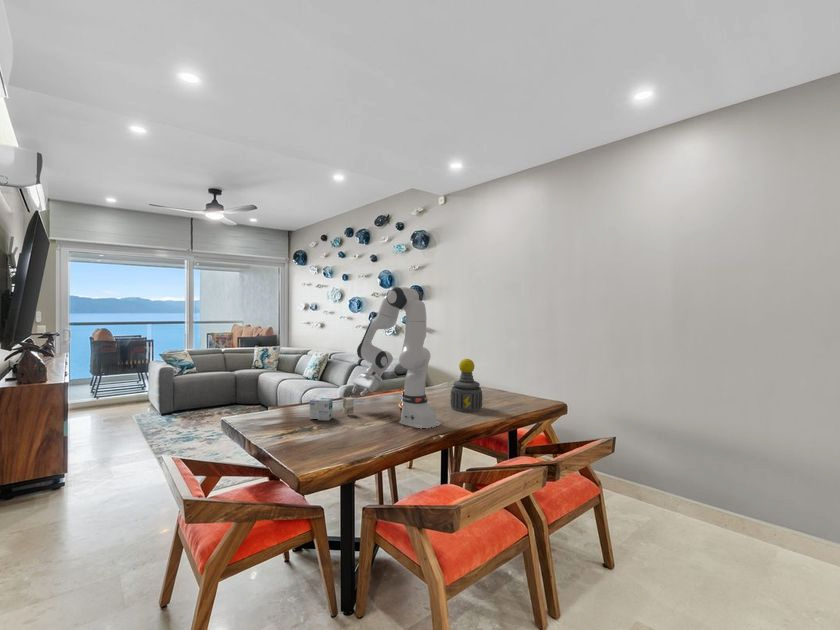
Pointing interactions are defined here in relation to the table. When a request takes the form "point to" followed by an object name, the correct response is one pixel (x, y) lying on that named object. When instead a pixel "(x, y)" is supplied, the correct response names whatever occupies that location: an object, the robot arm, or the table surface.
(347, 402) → the maple block
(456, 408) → the decorative lamp
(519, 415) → the table surface
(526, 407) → the table surface
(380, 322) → the robot arm
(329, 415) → the light bulb box
